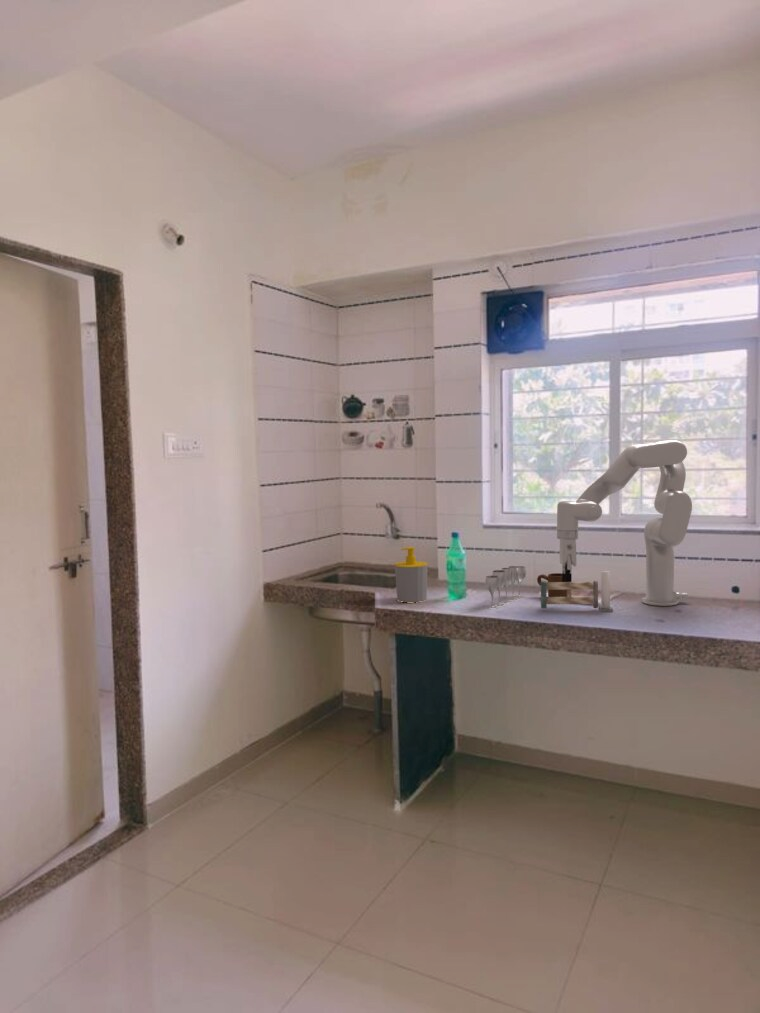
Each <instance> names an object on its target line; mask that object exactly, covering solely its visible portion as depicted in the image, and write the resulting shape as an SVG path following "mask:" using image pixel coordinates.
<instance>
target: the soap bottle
mask: <svg viewBox="0 0 760 1013" xmlns="http://www.w3.org/2000/svg"><path fill="white" fill-rule="evenodd" d="M414 550H416V547H414V546H408V547H407V546H406V547H404V548H402V549H401V551H407V555H406V556H405V561H399V562H396V563H394V575H395V577H394V578H395V587H396V588H395V589H396V597H397V599H398V600H399V601H403V602H419V601H424V600H426V601H427V596H428V595H427V593H428V563H427V562H426V561H420V560H419V561H417V557H416V555H414ZM397 599H396V600H397Z"/></svg>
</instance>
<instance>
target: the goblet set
mask: <svg viewBox="0 0 760 1013" xmlns="http://www.w3.org/2000/svg"><path fill="white" fill-rule="evenodd" d="M526 569H527V568H526V567H525V566H523V565H522V566H520V565H518V566H516V565H515V566H514V565H510V566H508V567H502V568H501V570H500V569H497V570H492V573H491V575H487V576H485V586H486V589H487V590H488V592H489V593H490V596H491V597H490V598H491V606H488V607H489V608H496V607H497V606H503V605H504V604H506V603H507V604H511V603H510V602H511V601H510V600H516V601H518V600H517V599H523V598H522V597H524V596H525V595H521V590H520V589H521V583H522V582H523V581H524V579H526V577H527V570H526ZM516 582H517V585H518V595H514V585H515V583H516ZM510 583H511V591H512V592H511V593H512V595H513V597H512V598H508V587H509V584H510ZM503 587H504V589H505V601H503V600H502V602H503V603H501V591H502V589H503ZM496 591H498V603H495V605H497V606H493V605H494V595H495V592H496ZM514 597H518V598H514ZM508 599H509V600H508ZM503 607H504V606H503Z"/></svg>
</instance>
